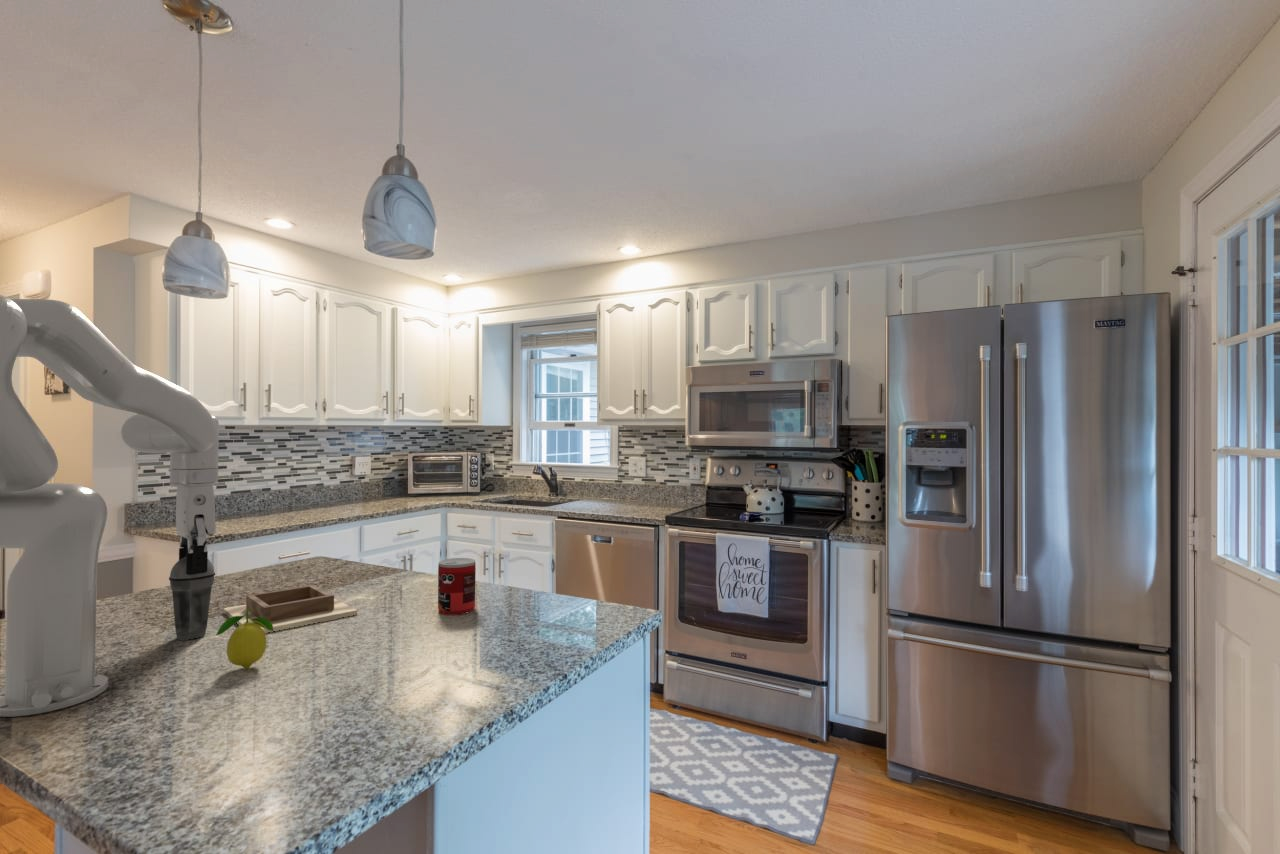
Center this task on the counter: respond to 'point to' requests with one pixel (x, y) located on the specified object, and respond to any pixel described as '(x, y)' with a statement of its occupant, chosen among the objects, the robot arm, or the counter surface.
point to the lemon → (246, 640)
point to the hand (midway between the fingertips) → (192, 569)
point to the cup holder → (291, 607)
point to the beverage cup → (191, 599)
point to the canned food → (456, 585)
